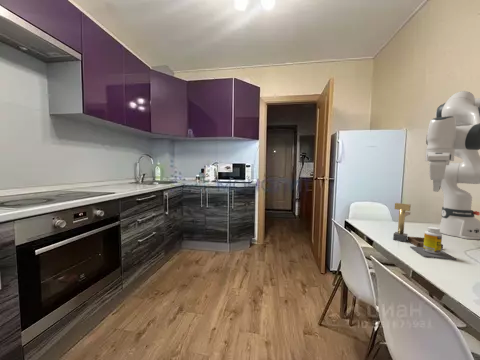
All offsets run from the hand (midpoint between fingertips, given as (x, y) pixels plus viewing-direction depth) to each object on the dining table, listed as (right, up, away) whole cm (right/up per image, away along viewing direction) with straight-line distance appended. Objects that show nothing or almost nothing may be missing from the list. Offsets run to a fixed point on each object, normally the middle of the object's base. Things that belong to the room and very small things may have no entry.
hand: (436, 190), depth 93 cm
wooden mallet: (+2, -22, +22) cm, 31 cm away
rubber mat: (-1, -26, +2) cm, 26 cm away
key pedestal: (-2, -25, +19) cm, 32 cm away
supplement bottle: (0, -26, +2) cm, 26 cm away
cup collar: (+5, -26, +13) cm, 29 cm away
